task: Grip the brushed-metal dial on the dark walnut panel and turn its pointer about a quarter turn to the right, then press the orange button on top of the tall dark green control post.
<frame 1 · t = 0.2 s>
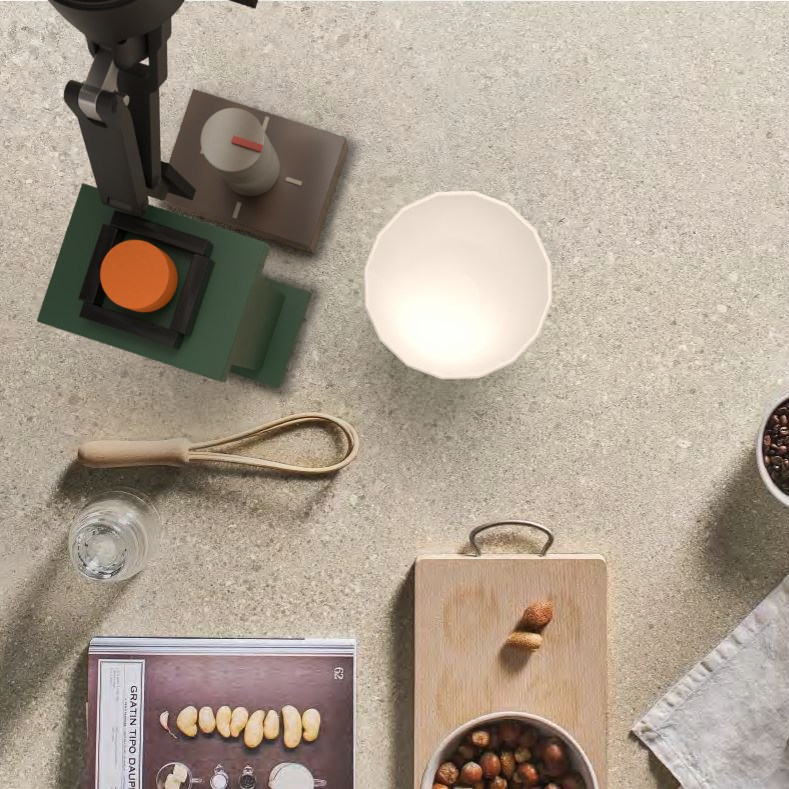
hand: (207, 93, 59), 20 cm above the worktop, tool pointing down, fingers open, 13 cm apart
button: (139, 276, 52), point 27 cm above the worktop, slide at 0.1 cm
dial: (241, 153, 72), point 7 cm above the worktop, hinge at 0.0°
cup: (447, 309, 79), on the worktop
dial panel: (257, 176, 79), on the worktop
control post: (233, 320, 79), on the worktop
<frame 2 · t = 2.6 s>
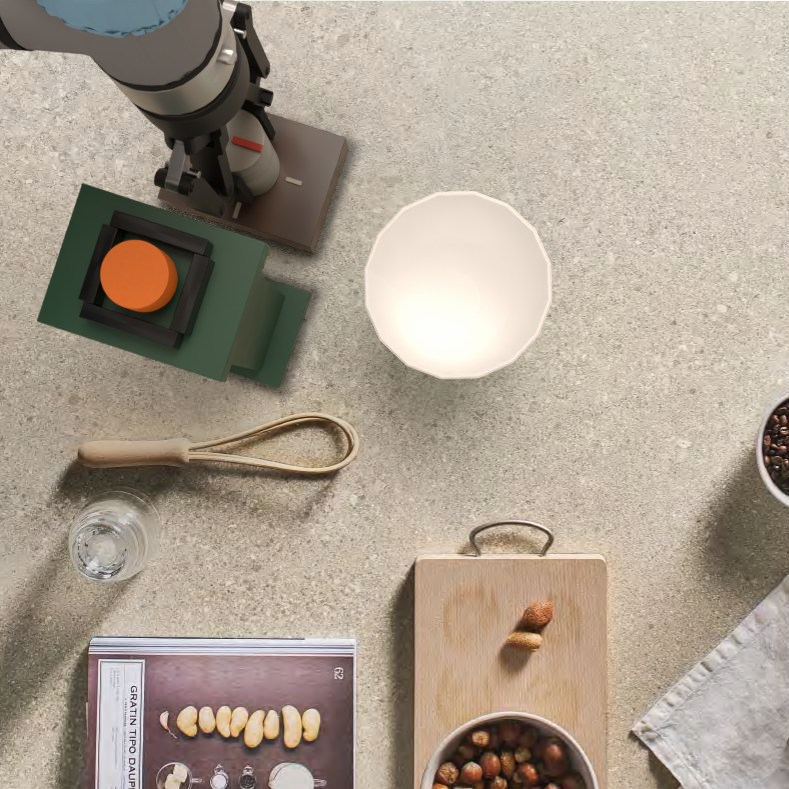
hand: (248, 163, 75), 4 cm above the worktop, tool pointing down, fingers closed on dial, 5 cm apart
dial: (241, 153, 72), point 7 cm above the worktop, hinge at -0.1°, touching gripper
everything else where it was.
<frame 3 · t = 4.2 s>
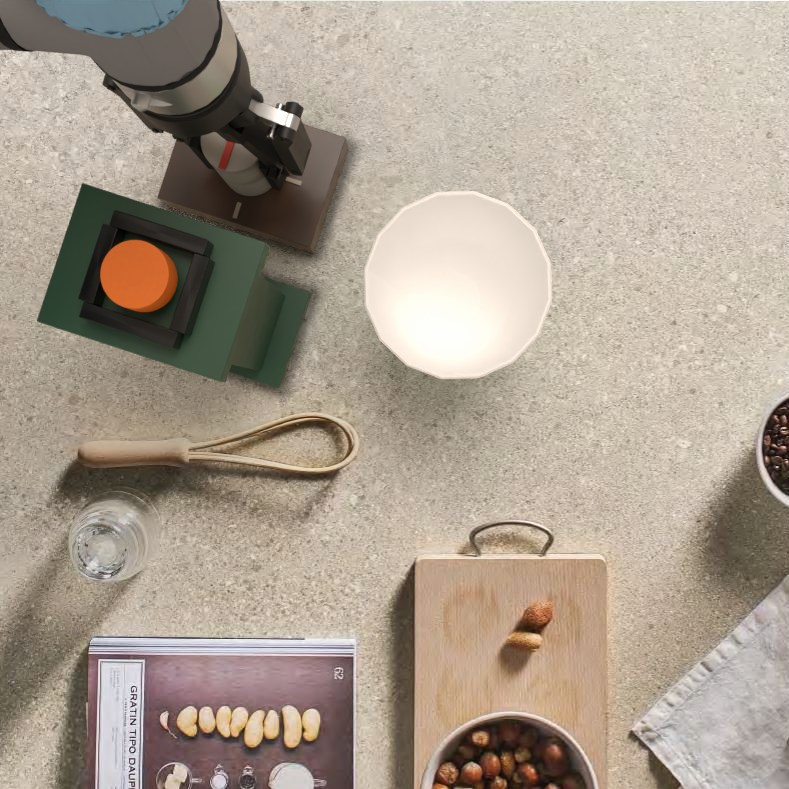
hand: (248, 164, 75), 4 cm above the worktop, tool pointing down, fingers open, 5 cm apart
dial: (241, 153, 72), point 7 cm above the worktop, hinge at -90.9°
everything else where it was.
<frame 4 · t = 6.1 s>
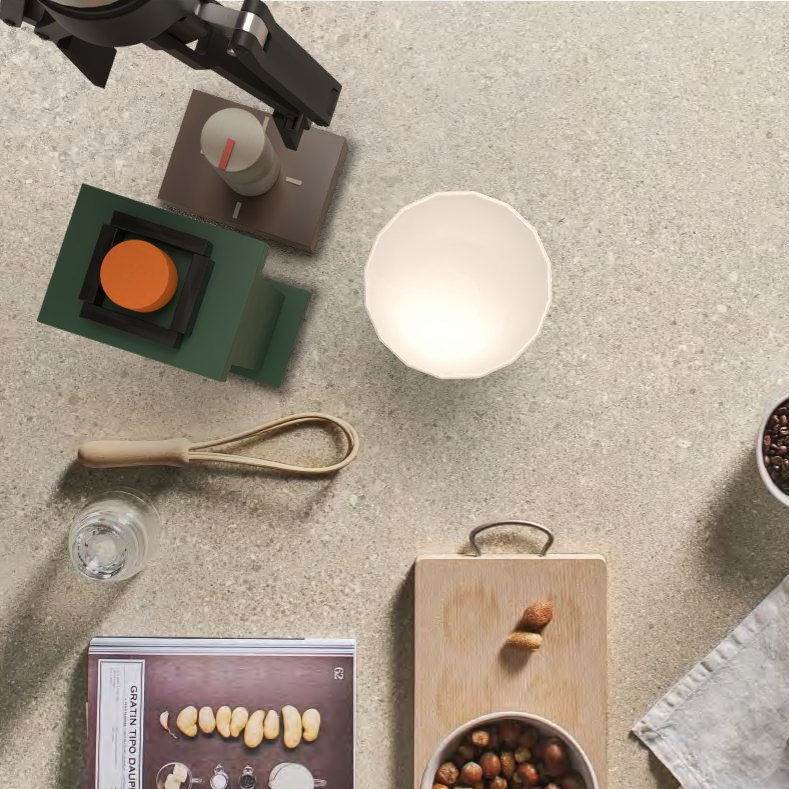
hand: (201, 99, 59), 20 cm above the worktop, tool pointing down, fingers open, 13 cm apart
nothing on the worktop moved.
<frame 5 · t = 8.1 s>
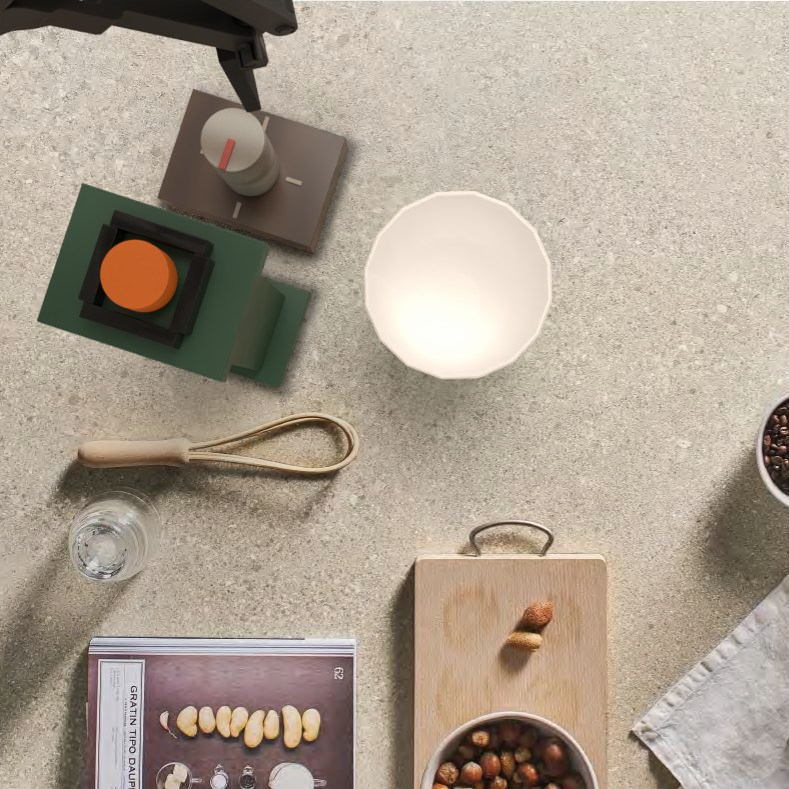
hand: (117, 114, 44), 35 cm above the worktop, tool pointing down, fingers open, 13 cm apart
nothing on the worktop moved.
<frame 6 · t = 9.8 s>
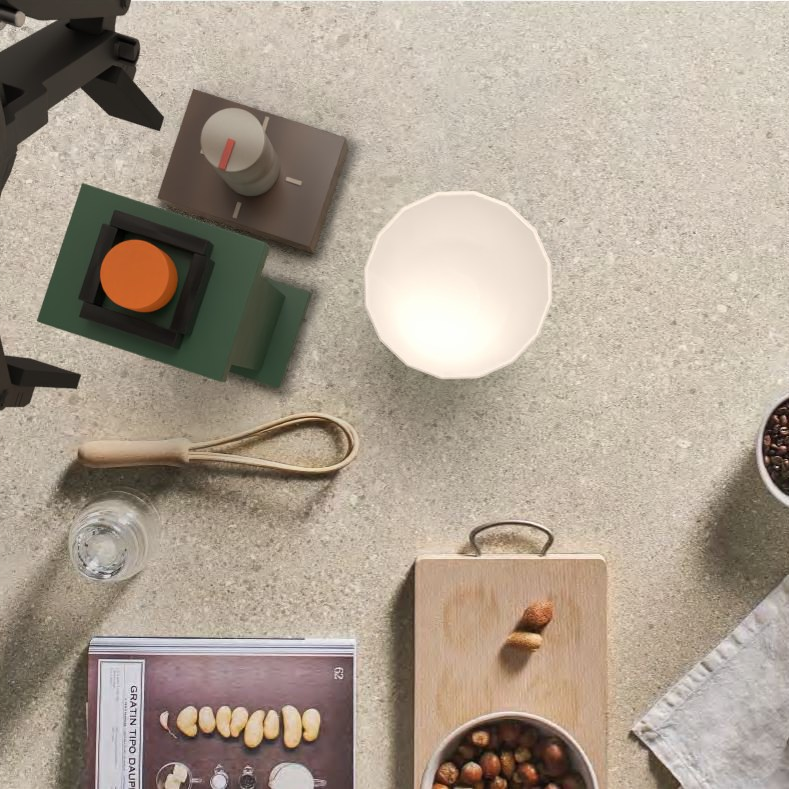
hand: (95, 245, 44), 35 cm above the worktop, tool pointing down, fingers open, 13 cm apart
nothing on the worktop moved.
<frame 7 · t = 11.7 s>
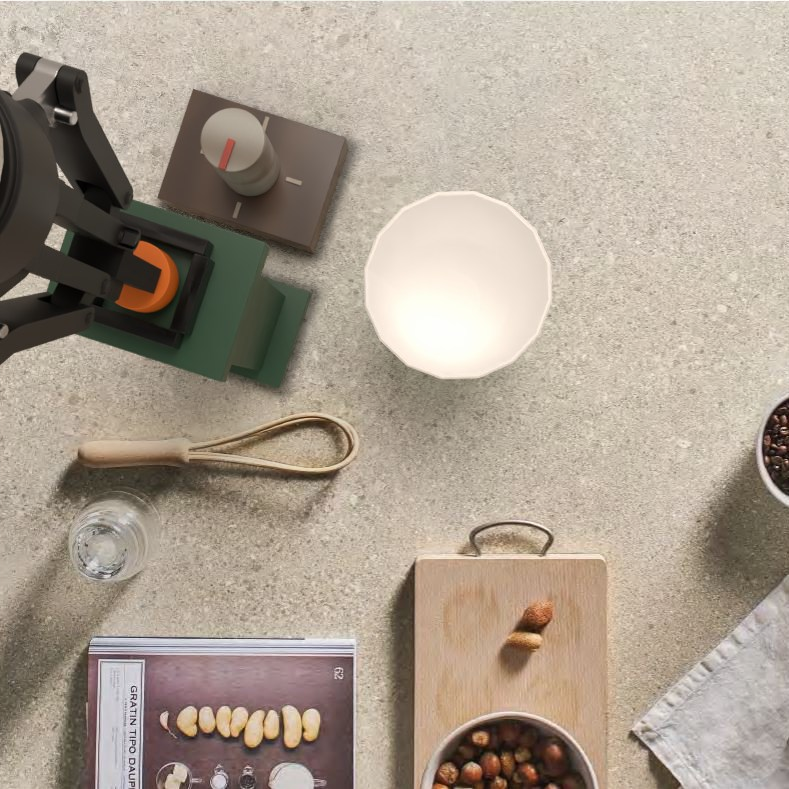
hand: (135, 274, 51), 28 cm above the worktop, tool pointing down, fingers closed
button: (141, 277, 52), point 27 cm above the worktop, slide at -0.1 cm, touching gripper
everything else where it was.
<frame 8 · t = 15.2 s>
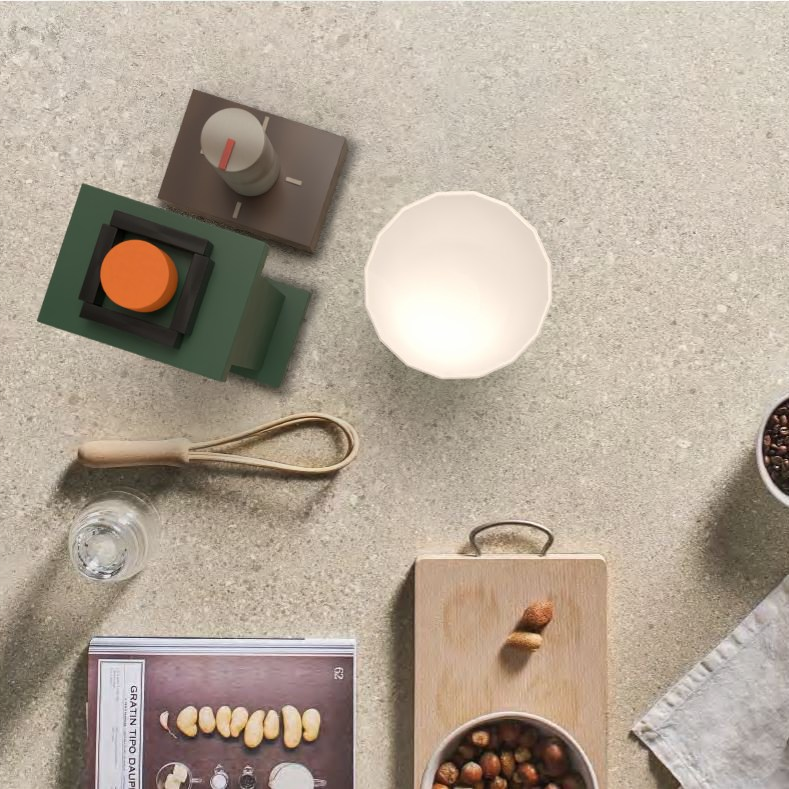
button: (139, 276, 52), point 27 cm above the worktop, slide at 0.1 cm
everything else where it was.
at the end: dial at -91° (first picture: +0°); button pushed in 0.9 cm at the most during the clip, back to where it started at the end; button slide at 0.1 cm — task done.
